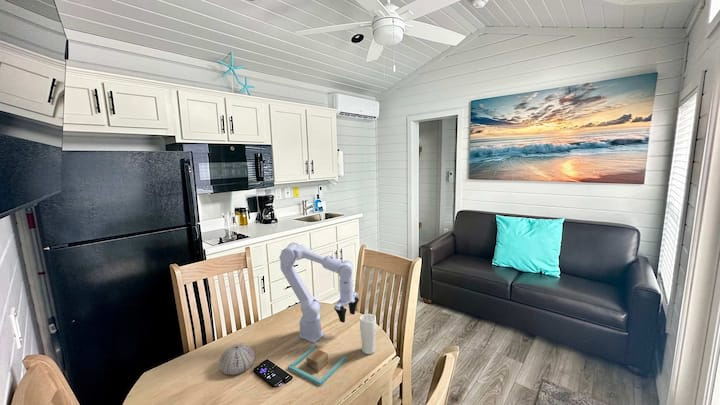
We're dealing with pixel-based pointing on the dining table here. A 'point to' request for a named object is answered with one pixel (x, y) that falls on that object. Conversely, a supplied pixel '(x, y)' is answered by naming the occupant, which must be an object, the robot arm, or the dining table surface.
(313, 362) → the walnut block
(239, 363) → the sea urchin shell
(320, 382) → the frame
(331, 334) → the dining table surface
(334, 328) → the dining table surface
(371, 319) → the white cup
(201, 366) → the dining table surface
